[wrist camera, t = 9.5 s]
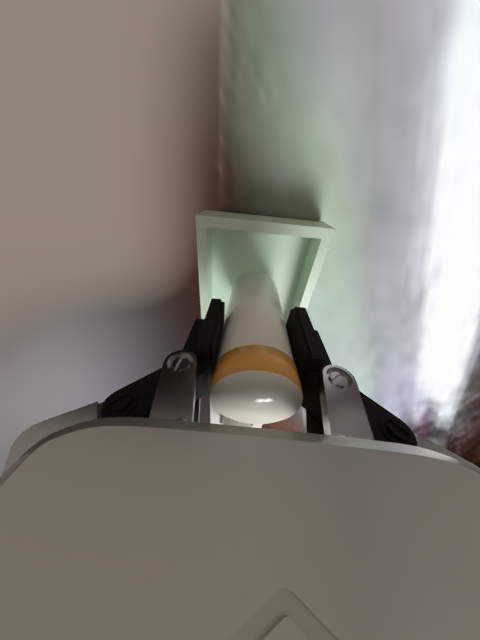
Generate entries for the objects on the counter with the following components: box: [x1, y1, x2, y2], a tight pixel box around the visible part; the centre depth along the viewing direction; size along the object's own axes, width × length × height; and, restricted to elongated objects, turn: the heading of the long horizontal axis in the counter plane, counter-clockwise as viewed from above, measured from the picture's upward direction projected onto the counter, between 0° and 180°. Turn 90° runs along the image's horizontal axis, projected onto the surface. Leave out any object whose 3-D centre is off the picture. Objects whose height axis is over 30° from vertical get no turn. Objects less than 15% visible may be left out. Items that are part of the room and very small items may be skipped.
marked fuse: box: [209, 272, 303, 424], centre depth 11 cm, size 4×4×9 cm
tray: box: [195, 210, 335, 325], centre depth 15 cm, size 10×8×2 cm
